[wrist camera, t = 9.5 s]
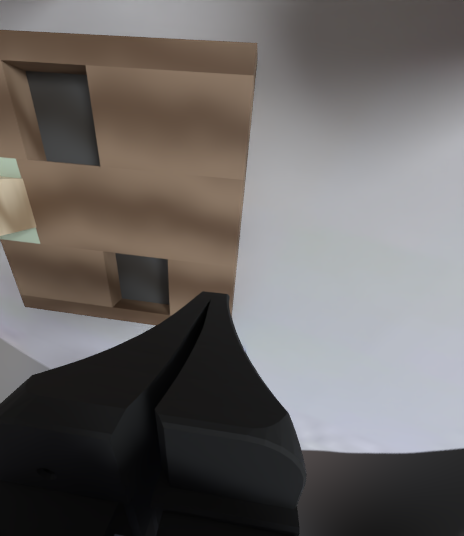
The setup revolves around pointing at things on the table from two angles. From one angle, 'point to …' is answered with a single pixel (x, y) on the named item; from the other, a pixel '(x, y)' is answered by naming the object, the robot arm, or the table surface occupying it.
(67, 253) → the board
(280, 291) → the table surface
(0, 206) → the maple block
